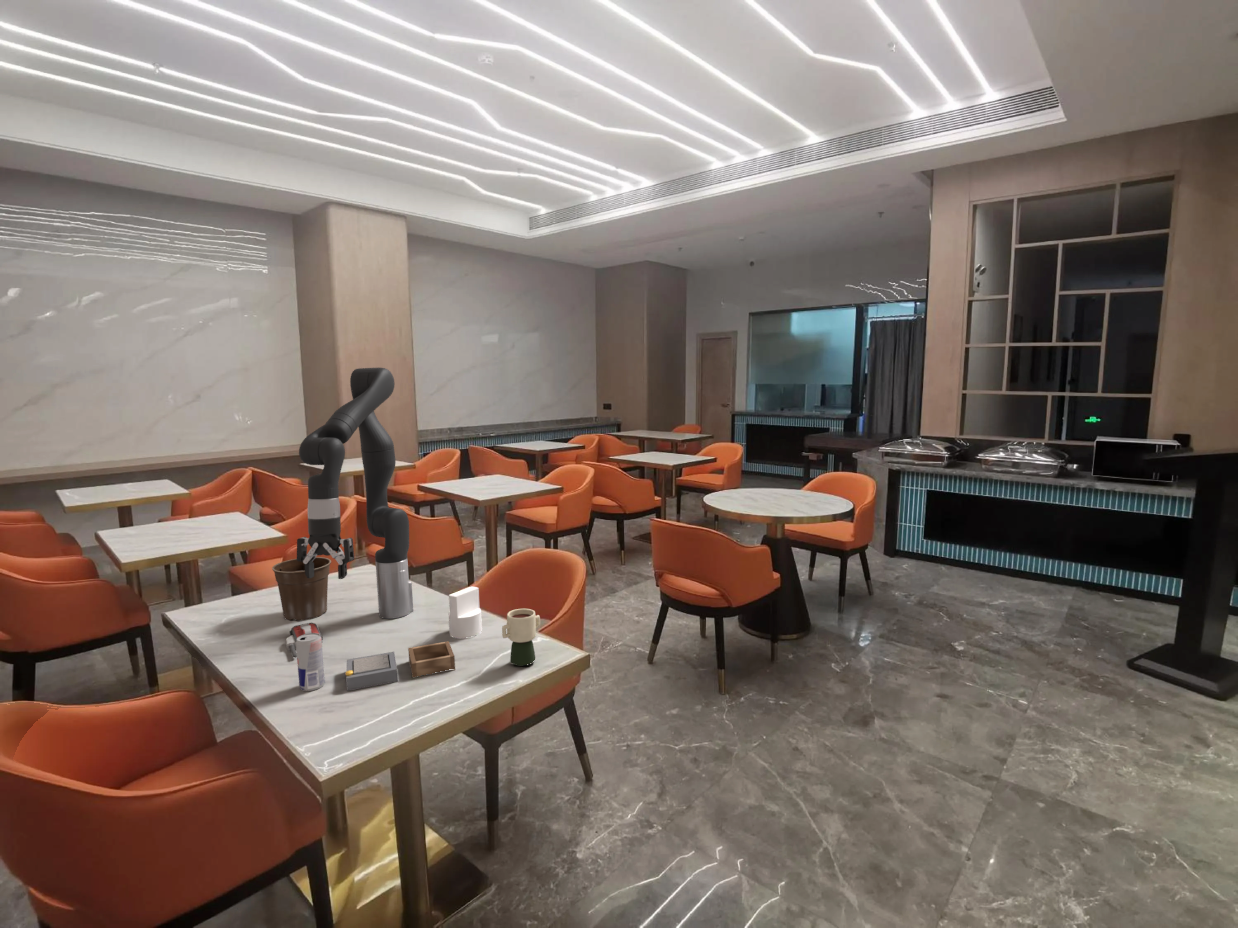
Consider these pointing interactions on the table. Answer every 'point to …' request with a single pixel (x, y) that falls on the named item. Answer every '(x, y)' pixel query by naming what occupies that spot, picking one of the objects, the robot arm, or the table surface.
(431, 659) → the walnut holder
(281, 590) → the plant pot
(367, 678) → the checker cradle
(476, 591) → the base with upright slab
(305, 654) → the energy drink
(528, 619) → the character mug
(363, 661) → the pad
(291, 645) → the walkie-talkie
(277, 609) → the table surface
